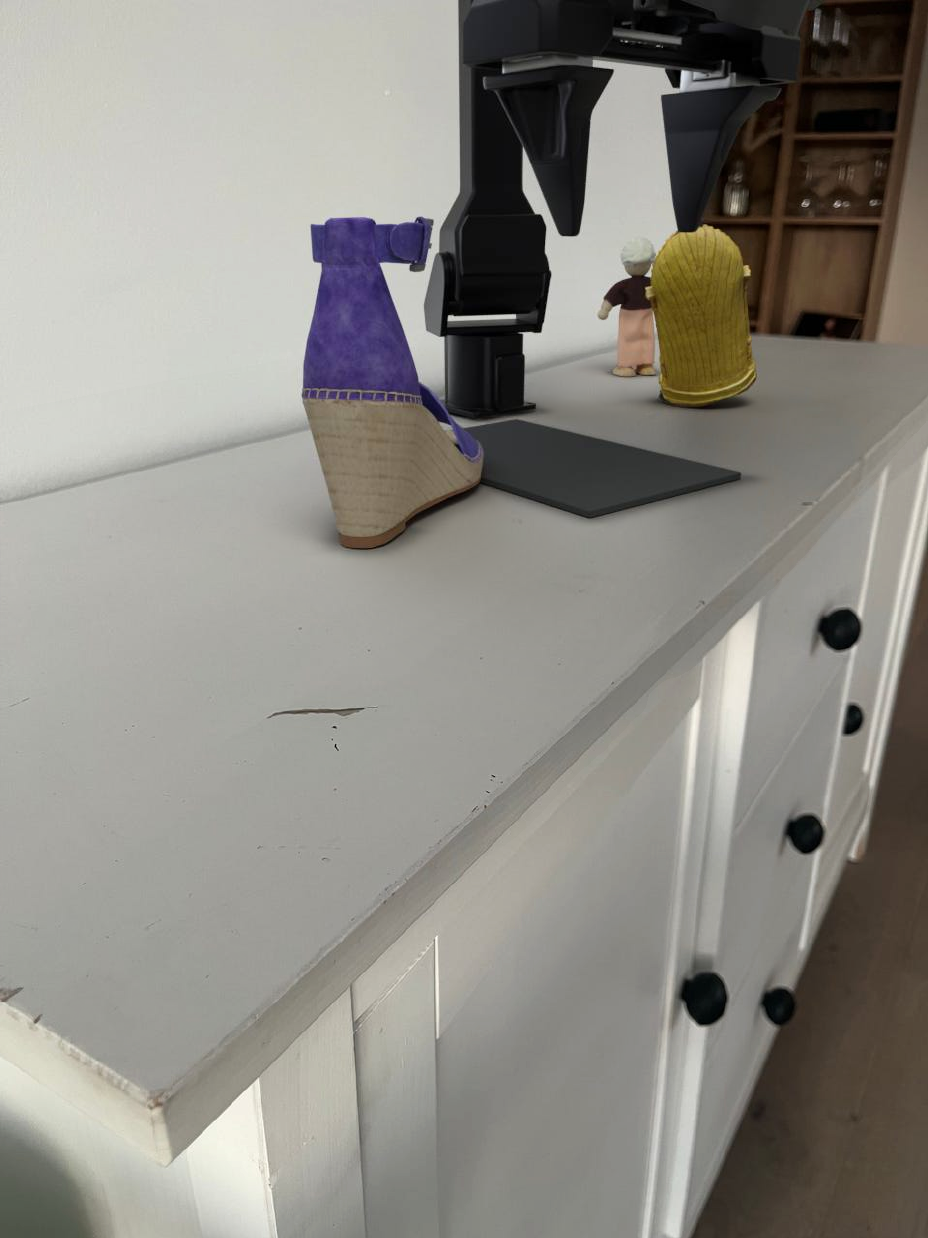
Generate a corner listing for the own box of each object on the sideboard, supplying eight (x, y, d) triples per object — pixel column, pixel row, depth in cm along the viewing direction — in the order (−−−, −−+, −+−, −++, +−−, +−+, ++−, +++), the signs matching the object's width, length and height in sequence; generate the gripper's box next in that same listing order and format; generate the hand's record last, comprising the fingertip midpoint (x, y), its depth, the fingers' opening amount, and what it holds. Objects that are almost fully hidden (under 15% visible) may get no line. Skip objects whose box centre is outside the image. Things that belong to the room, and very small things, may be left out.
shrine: (725, 423, 75) (747, 211, 69) (626, 413, 78) (638, 212, 72) (763, 398, 84) (784, 210, 78) (672, 391, 88) (686, 210, 82)
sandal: (518, 454, 63) (516, 204, 57) (402, 559, 46) (382, 218, 40) (402, 447, 66) (389, 207, 59) (252, 545, 49) (211, 222, 42)
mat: (375, 448, 67) (375, 442, 67) (516, 423, 75) (516, 418, 74) (589, 518, 52) (590, 511, 52) (740, 478, 59) (741, 472, 59)
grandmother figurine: (651, 368, 100) (660, 236, 95) (673, 373, 96) (684, 236, 91) (587, 374, 97) (592, 237, 92) (608, 379, 93) (615, 238, 88)
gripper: (655, -243, 33) (627, 242, 40) (923, -135, 44) (868, 233, 50) (452, -156, 41) (455, 237, 47) (722, -83, 52) (696, 229, 58)
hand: (631, 234), depth 51 cm, fingers open, 9 cm apart
